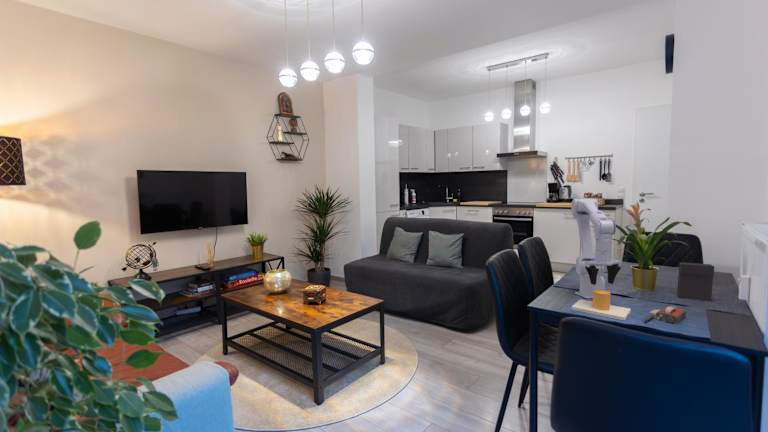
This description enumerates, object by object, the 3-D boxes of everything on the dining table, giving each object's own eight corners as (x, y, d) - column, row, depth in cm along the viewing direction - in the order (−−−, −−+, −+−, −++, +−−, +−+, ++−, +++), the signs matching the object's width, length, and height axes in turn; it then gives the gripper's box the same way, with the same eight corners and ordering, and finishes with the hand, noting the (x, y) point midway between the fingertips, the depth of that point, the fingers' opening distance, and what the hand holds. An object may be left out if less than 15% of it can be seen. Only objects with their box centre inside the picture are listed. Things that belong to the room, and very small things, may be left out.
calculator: (708, 298, 161) (710, 264, 160) (711, 301, 157) (714, 266, 156) (676, 295, 166) (678, 261, 164) (679, 298, 162) (681, 263, 160)
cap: (602, 305, 151) (603, 289, 150) (612, 309, 145) (613, 293, 145) (589, 305, 150) (590, 289, 149) (599, 310, 144) (600, 294, 144)
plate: (571, 309, 149) (571, 298, 149) (580, 302, 158) (580, 291, 158) (624, 320, 137) (625, 308, 137) (630, 311, 146) (631, 300, 146)
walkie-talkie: (659, 310, 148) (641, 323, 136) (660, 299, 148) (642, 311, 135) (687, 316, 141) (671, 330, 129) (688, 305, 141) (671, 318, 129)
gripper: (593, 252, 145) (592, 287, 147) (627, 251, 147) (625, 285, 149) (581, 249, 152) (580, 282, 154) (614, 248, 154) (612, 280, 156)
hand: (601, 283), depth 152 cm, fingers open, 7 cm apart
